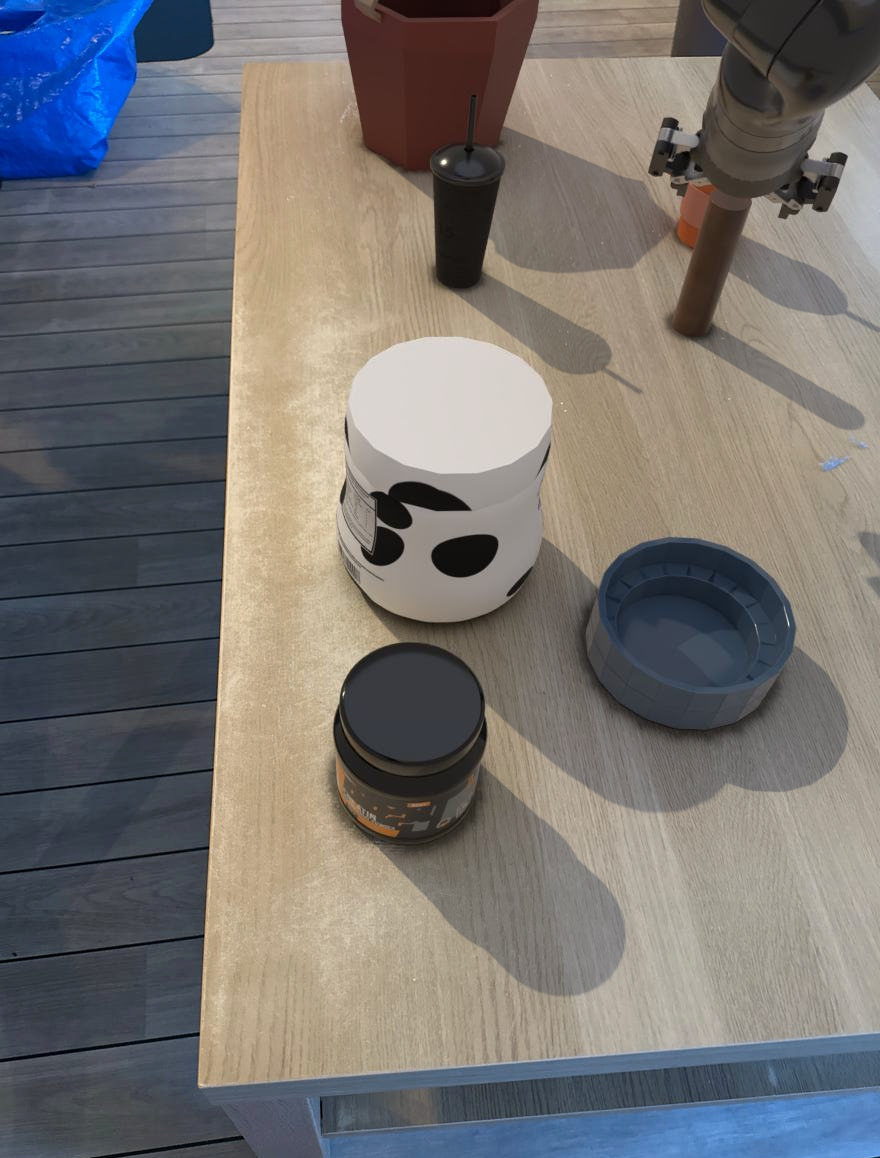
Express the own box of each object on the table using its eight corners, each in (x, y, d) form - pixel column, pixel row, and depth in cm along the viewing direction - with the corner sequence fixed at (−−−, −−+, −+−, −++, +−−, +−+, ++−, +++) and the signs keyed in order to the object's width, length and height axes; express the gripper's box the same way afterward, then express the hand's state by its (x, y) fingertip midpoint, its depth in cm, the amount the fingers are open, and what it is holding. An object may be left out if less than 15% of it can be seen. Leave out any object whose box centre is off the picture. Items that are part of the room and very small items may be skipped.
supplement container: (307, 771, 74) (299, 685, 65) (417, 700, 78) (425, 609, 69) (392, 878, 70) (398, 802, 60) (505, 797, 74) (526, 713, 64)
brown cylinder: (704, 319, 108) (748, 188, 96) (710, 342, 106) (755, 211, 93) (668, 317, 108) (707, 186, 96) (672, 340, 106) (713, 209, 93)
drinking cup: (440, 252, 114) (453, 69, 97) (502, 271, 112) (525, 88, 96) (411, 288, 110) (420, 103, 93) (475, 308, 108) (495, 123, 92)
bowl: (751, 586, 86) (775, 541, 81) (785, 738, 77) (814, 698, 73) (577, 579, 86) (590, 533, 81) (591, 730, 77) (607, 689, 72)
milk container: (560, 525, 90) (599, 365, 75) (492, 669, 80) (521, 518, 66) (386, 466, 93) (391, 302, 79) (302, 597, 84) (289, 438, 69)
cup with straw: (695, 209, 120) (742, 52, 106) (757, 243, 117) (814, 84, 102) (648, 237, 117) (689, 78, 102) (710, 272, 113) (762, 112, 98)
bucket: (464, 84, 137) (482, -137, 117) (561, 159, 126) (599, -69, 106) (308, 127, 129) (298, -102, 108) (397, 211, 118) (405, -25, 98)
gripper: (887, 84, 66) (835, 167, 81) (674, 43, 68) (664, 131, 84) (847, 201, 67) (804, 260, 83) (640, 156, 69) (637, 222, 85)
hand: (734, 195), depth 83 cm, fingers open, 8 cm apart
